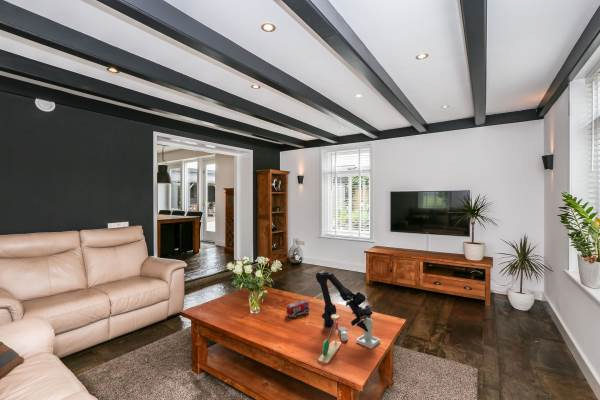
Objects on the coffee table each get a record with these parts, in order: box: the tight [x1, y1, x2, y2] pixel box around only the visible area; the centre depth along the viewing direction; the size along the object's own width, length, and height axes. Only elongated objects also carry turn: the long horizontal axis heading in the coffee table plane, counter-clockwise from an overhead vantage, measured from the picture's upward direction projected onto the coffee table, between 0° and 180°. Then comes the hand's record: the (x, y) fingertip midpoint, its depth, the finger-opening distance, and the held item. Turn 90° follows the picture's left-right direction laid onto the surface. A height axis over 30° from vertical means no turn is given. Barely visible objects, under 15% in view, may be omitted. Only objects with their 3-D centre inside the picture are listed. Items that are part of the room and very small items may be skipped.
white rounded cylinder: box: [340, 331, 349, 342], centre depth 190 cm, size 4×4×4 cm
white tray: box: [355, 334, 381, 349], centre depth 186 cm, size 11×11×2 cm
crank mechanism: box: [317, 314, 343, 366], centre depth 174 cm, size 25×7×19 cm, turn 152°
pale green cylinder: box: [363, 317, 373, 341], centre depth 186 cm, size 5×5×13 cm
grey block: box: [337, 326, 348, 337], centre depth 196 cm, size 5×5×4 cm
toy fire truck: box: [286, 298, 311, 319], centre depth 229 cm, size 9×19×10 cm, turn 123°
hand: (369, 330), depth 185 cm, fingers closed on pale green cylinder, 5 cm apart
